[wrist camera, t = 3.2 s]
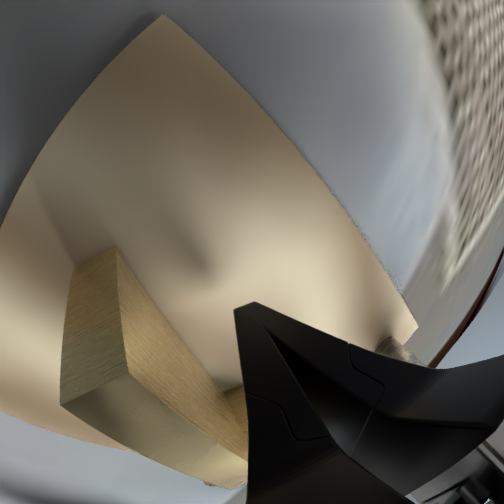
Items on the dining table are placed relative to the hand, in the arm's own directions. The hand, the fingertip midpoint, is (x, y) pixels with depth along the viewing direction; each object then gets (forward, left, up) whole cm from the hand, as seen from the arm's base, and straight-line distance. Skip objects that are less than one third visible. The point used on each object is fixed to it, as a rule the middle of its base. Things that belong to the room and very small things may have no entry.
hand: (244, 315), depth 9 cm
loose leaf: (-3, +1, -1) cm, 3 cm away
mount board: (-3, -5, -2) cm, 6 cm away
